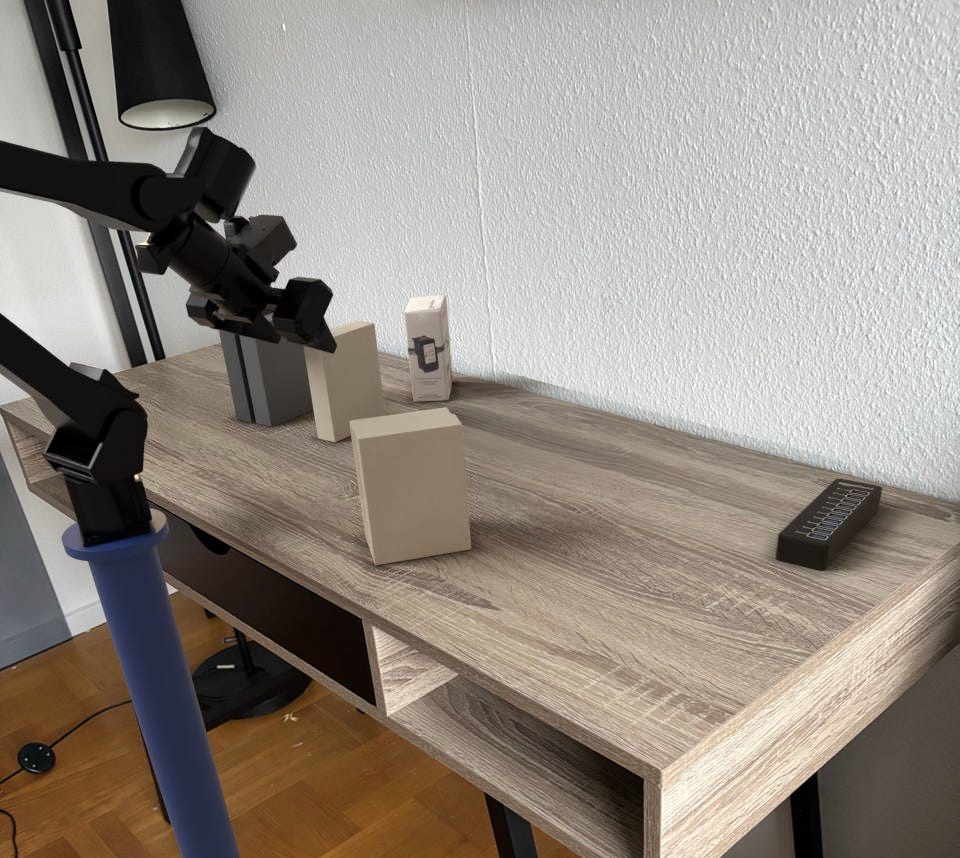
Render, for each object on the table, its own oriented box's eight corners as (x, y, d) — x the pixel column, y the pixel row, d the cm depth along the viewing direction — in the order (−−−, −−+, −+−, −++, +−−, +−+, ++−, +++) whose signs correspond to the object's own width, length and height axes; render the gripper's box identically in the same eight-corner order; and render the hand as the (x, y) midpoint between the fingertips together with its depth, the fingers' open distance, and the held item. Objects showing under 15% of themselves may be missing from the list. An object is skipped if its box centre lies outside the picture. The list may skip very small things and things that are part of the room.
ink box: (418, 383, 132) (409, 295, 125) (453, 381, 131) (446, 293, 125) (412, 402, 124) (402, 310, 118) (449, 401, 124) (442, 308, 118)
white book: (335, 442, 113) (320, 341, 107) (317, 438, 115) (301, 338, 109) (385, 420, 119) (374, 322, 113) (368, 416, 121) (356, 320, 114)
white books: (375, 565, 86) (358, 438, 79) (365, 536, 91) (348, 415, 84) (471, 549, 87) (462, 424, 81) (456, 521, 92) (446, 401, 86)
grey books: (269, 427, 119) (250, 322, 113) (236, 419, 123) (215, 317, 116) (324, 405, 126) (309, 304, 119) (291, 398, 129) (274, 299, 122)
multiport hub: (773, 558, 82) (776, 534, 81) (833, 499, 91) (836, 477, 90) (824, 571, 80) (827, 546, 78) (879, 508, 89) (883, 485, 88)
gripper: (304, 193, 90) (394, 288, 103) (183, 188, 100) (280, 275, 113) (256, 297, 89) (354, 380, 102) (139, 281, 99) (242, 358, 112)
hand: (306, 344), depth 107 cm, fingers open, 9 cm apart
